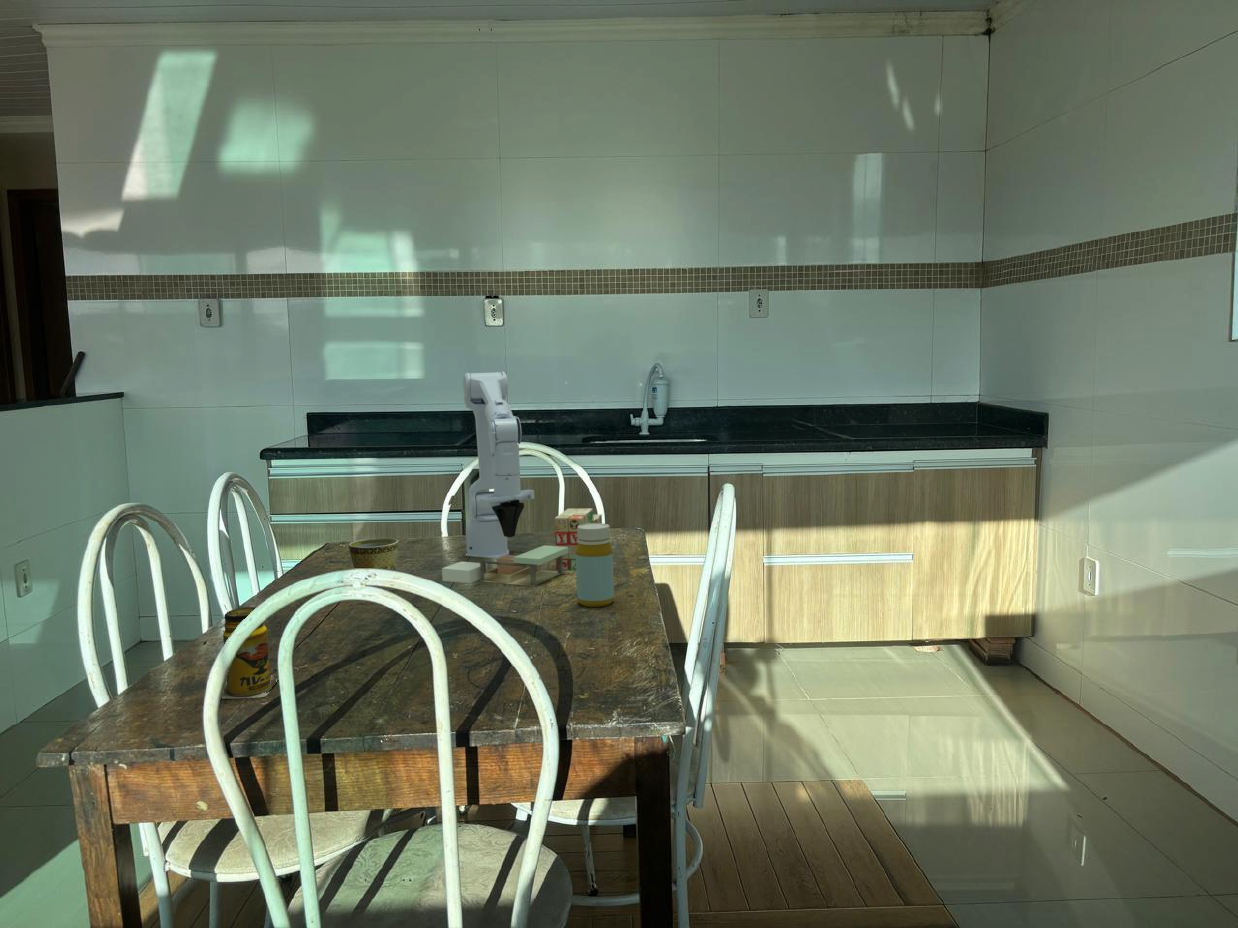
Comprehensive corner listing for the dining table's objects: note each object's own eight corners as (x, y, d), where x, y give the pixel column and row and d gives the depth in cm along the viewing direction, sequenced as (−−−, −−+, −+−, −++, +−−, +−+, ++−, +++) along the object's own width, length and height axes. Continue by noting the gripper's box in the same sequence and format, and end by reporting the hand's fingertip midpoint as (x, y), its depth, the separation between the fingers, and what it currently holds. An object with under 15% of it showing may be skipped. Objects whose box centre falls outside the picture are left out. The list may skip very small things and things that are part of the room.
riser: (442, 582, 202) (441, 568, 202) (461, 574, 208) (460, 561, 208) (469, 584, 199) (469, 570, 199) (488, 577, 205) (487, 563, 205)
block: (497, 576, 204) (497, 558, 204) (507, 572, 208) (507, 554, 207) (513, 578, 203) (512, 559, 202) (523, 573, 206) (522, 556, 206)
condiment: (266, 697, 136) (259, 616, 134) (205, 700, 135) (198, 619, 134) (280, 680, 143) (274, 602, 141) (222, 683, 142) (216, 605, 141)
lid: (513, 562, 197) (513, 557, 197) (544, 550, 208) (544, 545, 208) (539, 564, 194) (539, 559, 194) (568, 552, 205) (568, 547, 205)
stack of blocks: (578, 551, 230) (577, 501, 229) (603, 551, 229) (602, 501, 228) (556, 571, 209) (553, 517, 208) (583, 572, 208) (581, 517, 207)
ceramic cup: (407, 590, 196) (404, 542, 195) (359, 597, 191) (356, 549, 190) (387, 578, 207) (384, 533, 206) (341, 585, 202) (338, 539, 201)
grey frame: (479, 582, 201) (478, 561, 201) (512, 568, 213) (511, 548, 212) (533, 587, 195) (532, 565, 195) (564, 573, 207) (563, 552, 206)
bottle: (604, 596, 186) (602, 521, 185) (620, 604, 180) (617, 526, 178) (572, 601, 183) (569, 525, 182) (586, 609, 177) (583, 530, 175)
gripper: (495, 479, 194) (498, 544, 196) (543, 471, 206) (545, 532, 207) (471, 477, 199) (474, 540, 200) (520, 469, 210) (522, 529, 212)
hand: (509, 536), depth 204 cm, fingers closed
